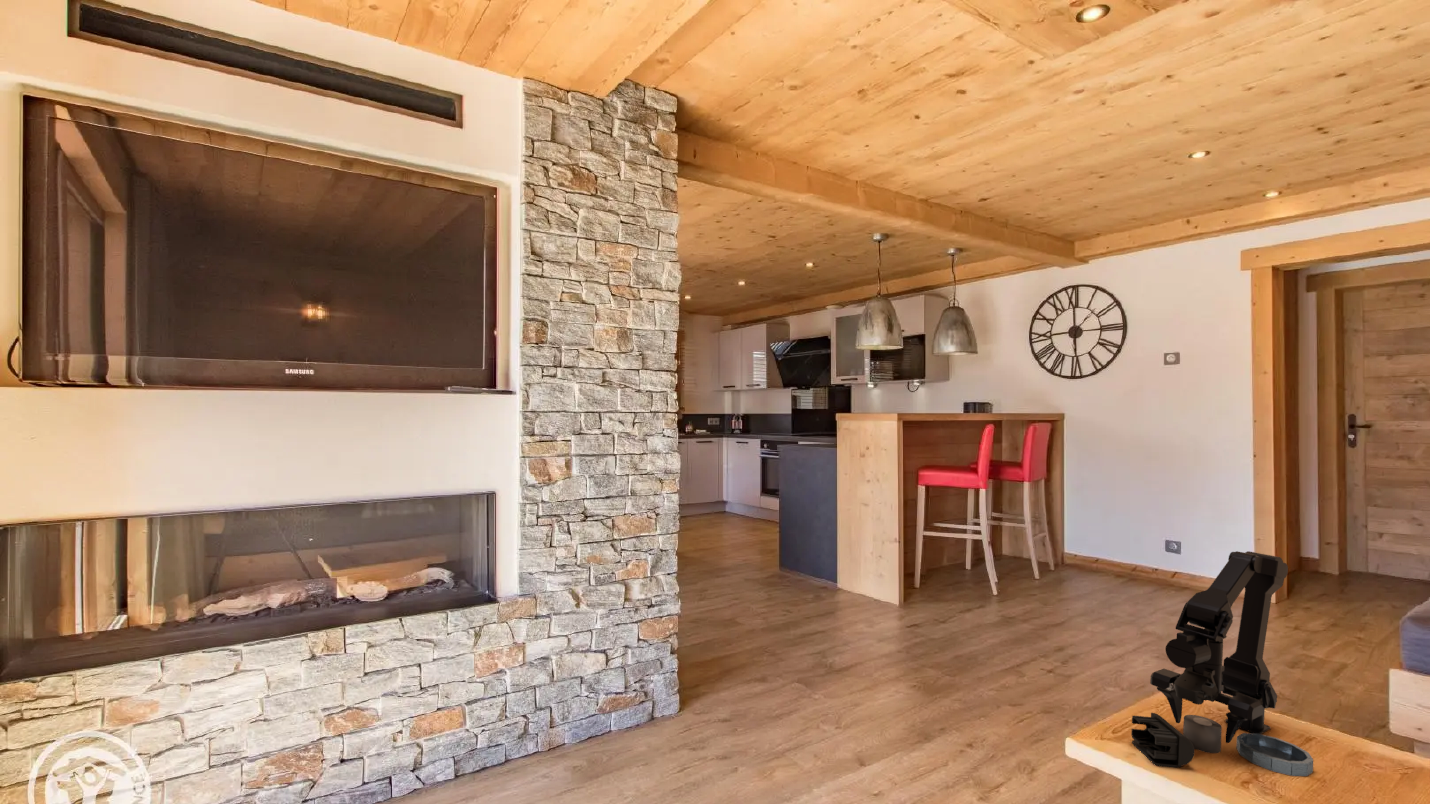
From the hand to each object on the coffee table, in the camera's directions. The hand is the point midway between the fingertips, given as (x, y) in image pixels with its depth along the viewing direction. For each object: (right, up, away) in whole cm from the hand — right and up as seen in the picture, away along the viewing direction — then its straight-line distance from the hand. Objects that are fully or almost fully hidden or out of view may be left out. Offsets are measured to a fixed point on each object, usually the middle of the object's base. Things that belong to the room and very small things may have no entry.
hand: (1202, 732), depth 139 cm
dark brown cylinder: (0, -3, 0) cm, 3 cm away
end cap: (-12, -3, -5) cm, 14 cm away
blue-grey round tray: (+11, -3, -5) cm, 12 cm away
